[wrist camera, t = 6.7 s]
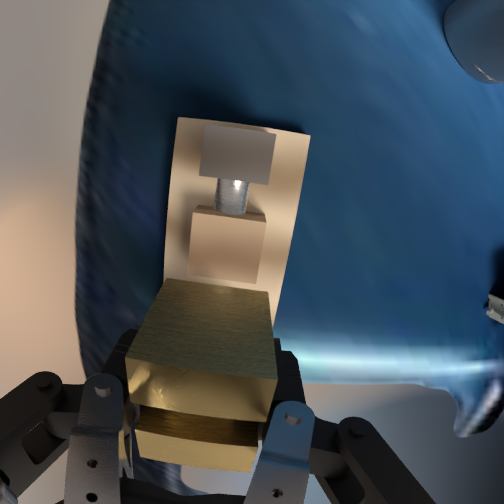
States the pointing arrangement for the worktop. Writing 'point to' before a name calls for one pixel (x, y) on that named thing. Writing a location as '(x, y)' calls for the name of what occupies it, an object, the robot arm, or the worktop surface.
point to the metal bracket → (496, 308)
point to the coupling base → (257, 200)
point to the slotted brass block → (203, 375)
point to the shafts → (231, 196)
